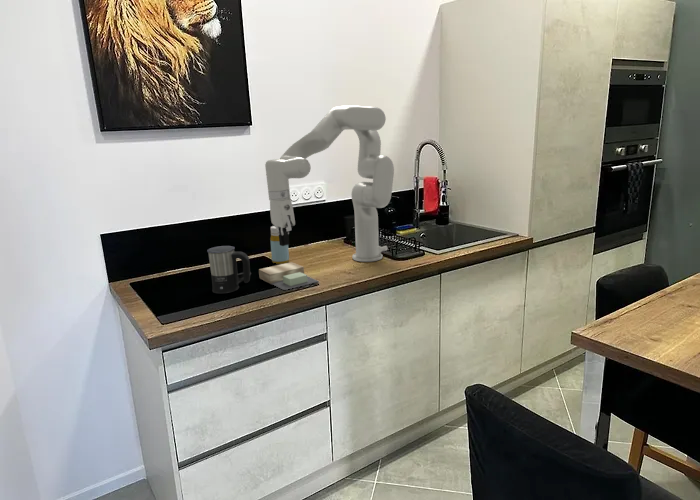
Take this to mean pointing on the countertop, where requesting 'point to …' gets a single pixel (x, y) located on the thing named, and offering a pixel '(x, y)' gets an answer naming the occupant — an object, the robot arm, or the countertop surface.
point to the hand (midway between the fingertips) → (284, 244)
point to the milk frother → (227, 269)
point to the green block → (295, 279)
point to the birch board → (279, 272)
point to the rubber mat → (286, 287)
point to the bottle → (278, 248)
